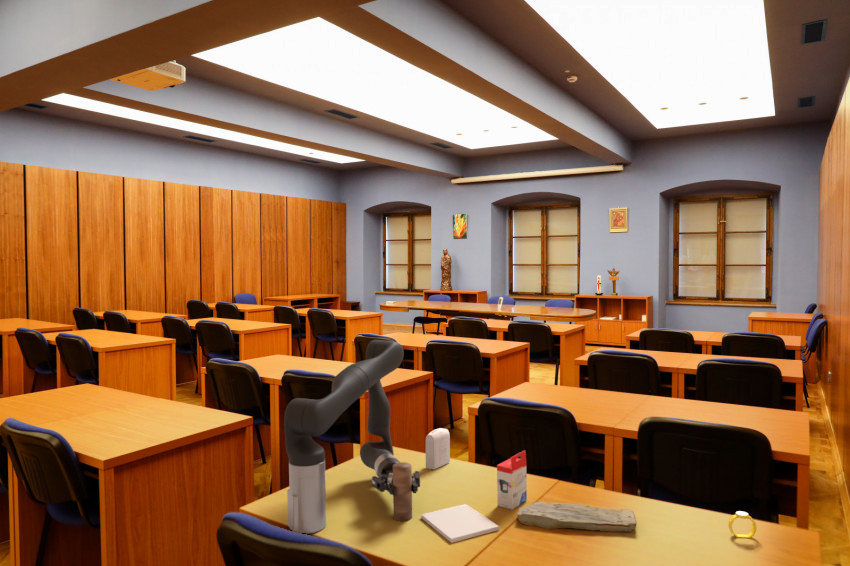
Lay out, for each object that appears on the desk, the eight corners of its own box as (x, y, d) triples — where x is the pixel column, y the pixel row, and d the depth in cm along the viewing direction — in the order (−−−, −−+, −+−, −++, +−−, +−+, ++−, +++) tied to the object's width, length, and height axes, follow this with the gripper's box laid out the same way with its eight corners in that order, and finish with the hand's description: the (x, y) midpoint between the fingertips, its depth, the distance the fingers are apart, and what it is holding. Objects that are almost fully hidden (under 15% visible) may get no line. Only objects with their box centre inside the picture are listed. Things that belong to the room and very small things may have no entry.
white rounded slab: (441, 460, 200) (441, 424, 200) (451, 462, 197) (451, 426, 197) (423, 468, 192) (423, 431, 191) (434, 471, 189) (433, 433, 189)
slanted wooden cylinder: (398, 522, 151) (397, 469, 150) (390, 515, 155) (389, 464, 155) (415, 518, 153) (414, 466, 153) (407, 511, 157) (406, 461, 157)
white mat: (451, 542, 139) (451, 538, 139) (421, 518, 153) (421, 514, 153) (498, 530, 146) (498, 526, 146) (465, 507, 160) (465, 503, 160)
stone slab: (518, 497, 159) (631, 501, 153) (519, 512, 159) (632, 516, 153) (516, 515, 147) (639, 520, 141) (517, 532, 147) (640, 537, 141)
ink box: (512, 496, 167) (511, 446, 167) (527, 500, 164) (526, 449, 164) (496, 506, 161) (496, 454, 160) (512, 510, 157) (511, 457, 157)
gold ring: (732, 540, 140) (730, 515, 139) (727, 534, 142) (726, 511, 142) (758, 539, 139) (756, 515, 139) (753, 534, 141) (751, 510, 141)
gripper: (365, 460, 165) (378, 480, 149) (412, 454, 170) (430, 473, 153) (365, 485, 165) (379, 508, 149) (413, 479, 170) (431, 501, 154)
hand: (405, 490), depth 151 cm, fingers closed on slanted wooden cylinder, 5 cm apart
